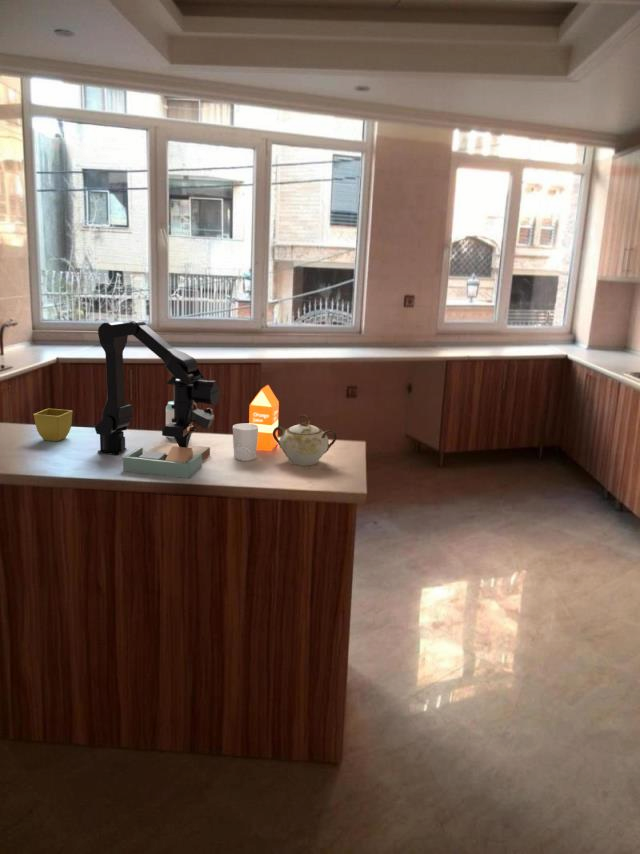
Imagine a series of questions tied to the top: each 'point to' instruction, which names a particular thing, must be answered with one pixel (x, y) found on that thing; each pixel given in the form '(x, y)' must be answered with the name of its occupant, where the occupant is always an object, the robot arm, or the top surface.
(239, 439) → the white cup
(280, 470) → the top surface
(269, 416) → the orange juice
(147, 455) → the slate tile
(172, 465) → the box
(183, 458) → the terracotta tile
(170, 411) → the can
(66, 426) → the flower pot
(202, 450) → the walnut board
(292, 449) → the sugar bowl
